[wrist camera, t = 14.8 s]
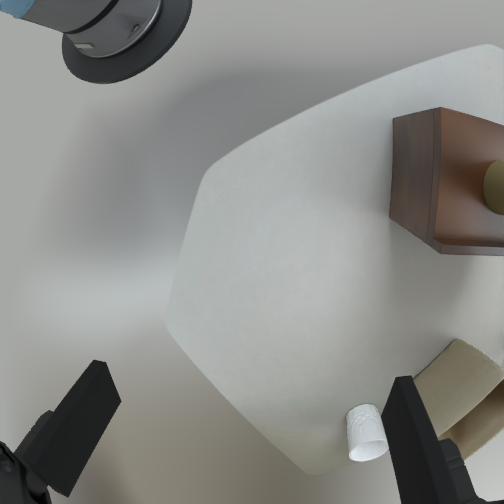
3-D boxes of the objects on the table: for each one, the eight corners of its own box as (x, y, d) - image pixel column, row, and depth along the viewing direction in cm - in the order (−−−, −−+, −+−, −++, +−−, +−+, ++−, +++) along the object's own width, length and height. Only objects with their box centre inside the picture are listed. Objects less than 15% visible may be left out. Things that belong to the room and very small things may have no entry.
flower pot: (494, 355, 44) (530, 404, 28) (434, 412, 50) (456, 467, 35) (460, 316, 42) (507, 373, 26) (388, 386, 48) (411, 454, 32)
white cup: (336, 415, 52) (340, 453, 42) (368, 396, 49) (378, 434, 40) (355, 429, 53) (361, 465, 44) (386, 411, 51) (396, 447, 41)
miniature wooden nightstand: (393, 118, 34) (450, 104, 19) (489, 138, 32) (556, 143, 18) (388, 217, 38) (440, 254, 24) (482, 224, 37) (543, 257, 22)
